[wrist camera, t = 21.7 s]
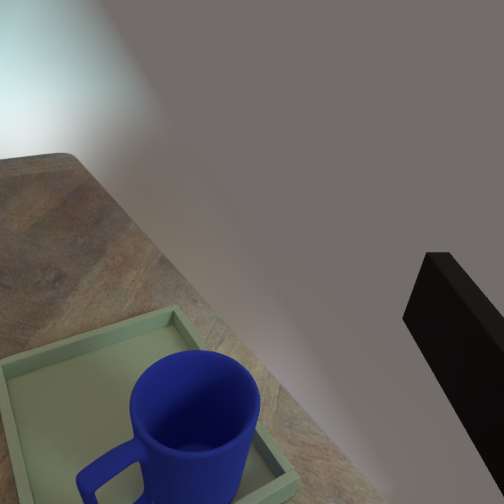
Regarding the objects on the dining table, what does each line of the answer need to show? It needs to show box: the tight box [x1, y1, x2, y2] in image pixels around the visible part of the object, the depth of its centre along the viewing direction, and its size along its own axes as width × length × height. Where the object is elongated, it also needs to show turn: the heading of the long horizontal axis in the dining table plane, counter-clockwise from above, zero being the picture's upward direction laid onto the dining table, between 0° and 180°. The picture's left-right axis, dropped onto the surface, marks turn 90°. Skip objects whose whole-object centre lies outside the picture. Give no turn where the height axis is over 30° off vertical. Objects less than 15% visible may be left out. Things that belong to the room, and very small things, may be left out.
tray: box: [0, 304, 300, 504], centre depth 37 cm, size 22×18×3 cm
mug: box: [76, 350, 260, 504], centre depth 31 cm, size 8×12×10 cm
